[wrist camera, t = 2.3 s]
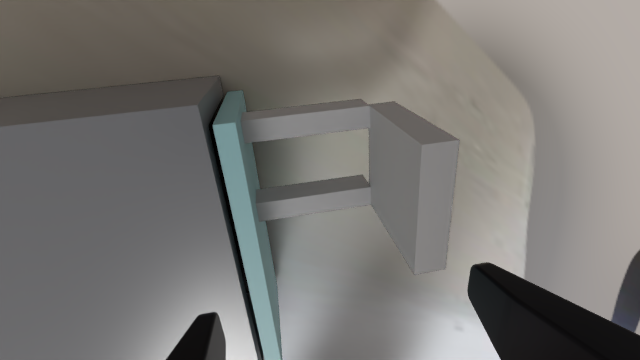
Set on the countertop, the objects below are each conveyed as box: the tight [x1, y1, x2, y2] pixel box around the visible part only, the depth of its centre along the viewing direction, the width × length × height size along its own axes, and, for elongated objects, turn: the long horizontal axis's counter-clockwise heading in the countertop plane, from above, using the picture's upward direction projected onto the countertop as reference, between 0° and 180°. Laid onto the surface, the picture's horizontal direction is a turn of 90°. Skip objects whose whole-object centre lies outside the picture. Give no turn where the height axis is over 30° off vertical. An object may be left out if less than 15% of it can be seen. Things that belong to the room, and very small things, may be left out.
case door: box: [212, 90, 460, 360], centre depth 17 cm, size 8×14×10 cm, turn 4°
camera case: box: [0, 76, 265, 360], centre depth 18 cm, size 12×18×7 cm
